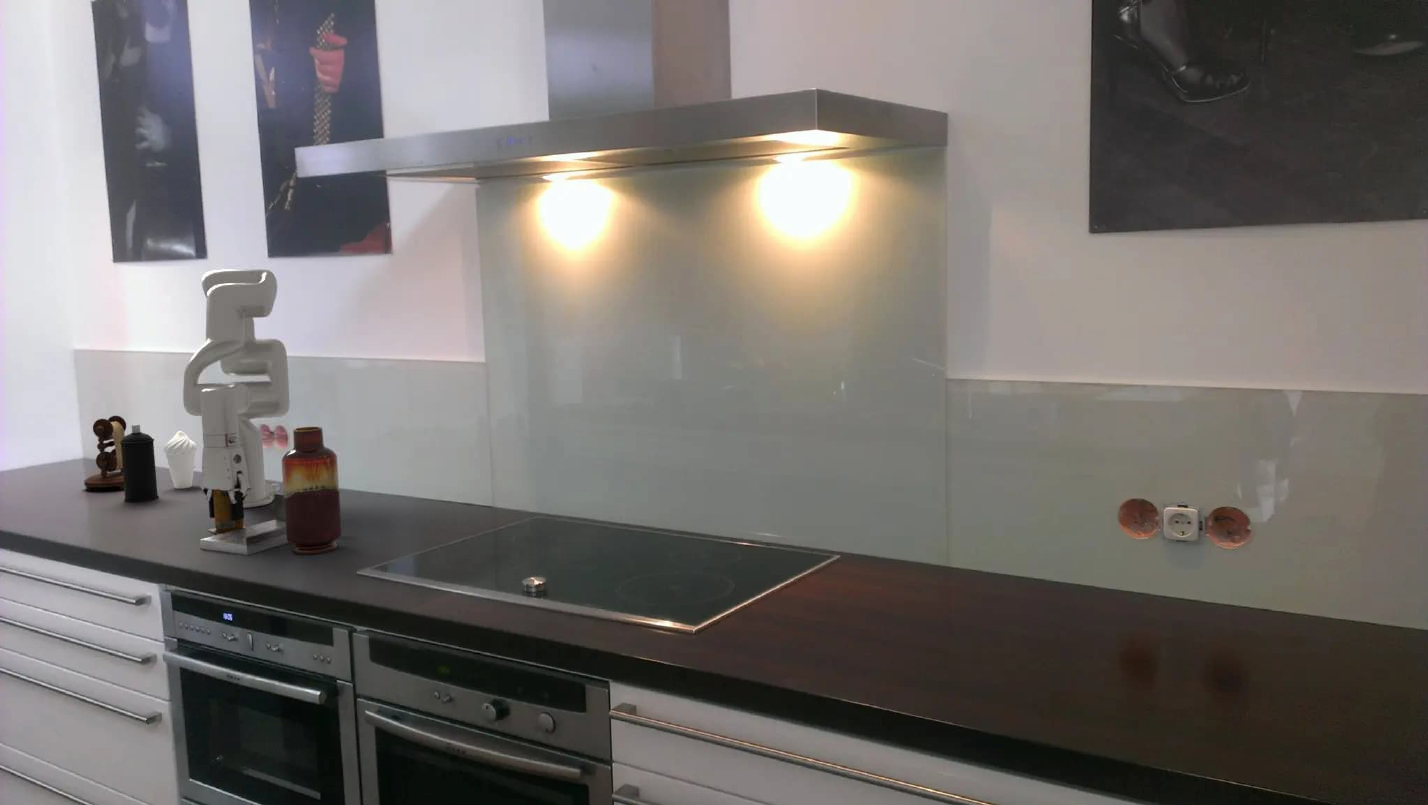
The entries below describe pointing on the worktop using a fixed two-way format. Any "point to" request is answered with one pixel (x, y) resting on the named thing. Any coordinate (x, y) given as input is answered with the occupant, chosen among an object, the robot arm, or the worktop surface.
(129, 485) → the aerosol can
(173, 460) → the soft serve ice cream cone
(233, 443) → the robot arm
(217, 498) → the condiment
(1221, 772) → the worktop surface
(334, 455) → the vase
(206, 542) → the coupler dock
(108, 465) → the brown wooden figurine
